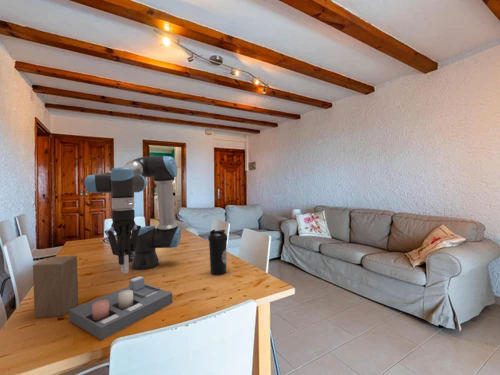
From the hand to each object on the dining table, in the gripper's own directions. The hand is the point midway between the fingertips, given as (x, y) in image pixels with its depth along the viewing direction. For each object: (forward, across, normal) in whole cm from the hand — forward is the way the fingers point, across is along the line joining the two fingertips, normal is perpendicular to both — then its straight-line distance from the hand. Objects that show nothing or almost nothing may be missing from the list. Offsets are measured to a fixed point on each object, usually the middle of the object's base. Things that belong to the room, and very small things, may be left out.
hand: (124, 272), depth 92 cm
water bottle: (+16, +51, -3) cm, 54 cm away
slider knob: (+12, +10, +8) cm, 17 cm away
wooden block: (+16, -12, +26) cm, 33 cm away
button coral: (+13, -9, 0) cm, 16 cm away
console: (+16, +1, +3) cm, 16 cm away
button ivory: (+13, 0, 0) cm, 13 cm away
